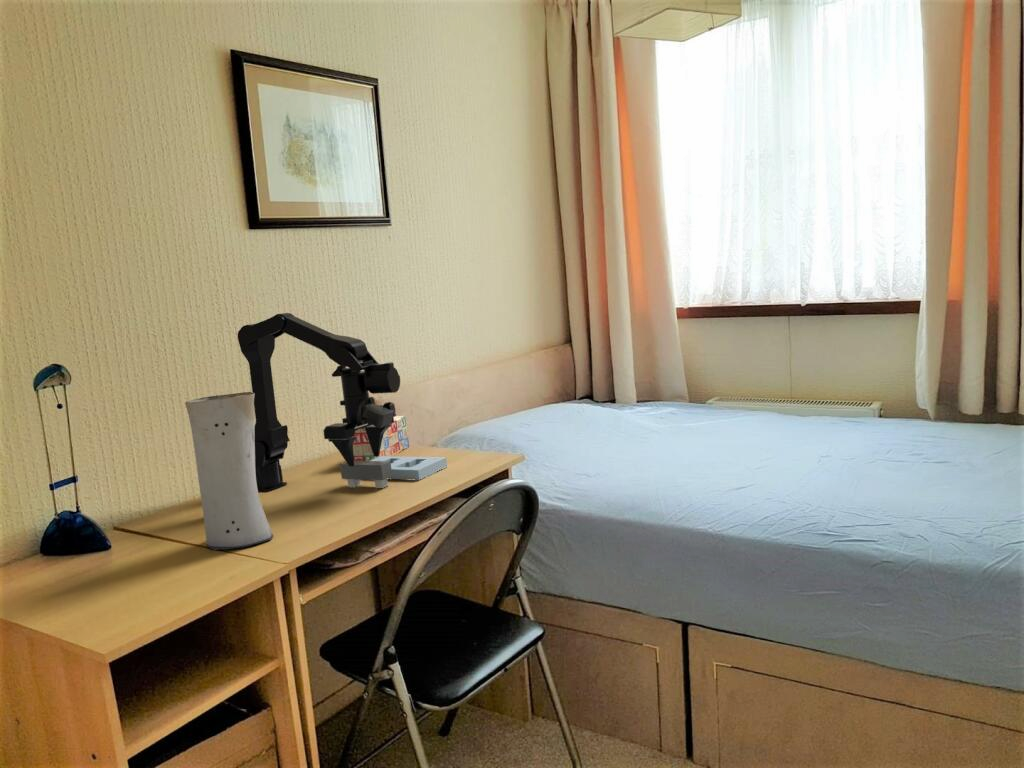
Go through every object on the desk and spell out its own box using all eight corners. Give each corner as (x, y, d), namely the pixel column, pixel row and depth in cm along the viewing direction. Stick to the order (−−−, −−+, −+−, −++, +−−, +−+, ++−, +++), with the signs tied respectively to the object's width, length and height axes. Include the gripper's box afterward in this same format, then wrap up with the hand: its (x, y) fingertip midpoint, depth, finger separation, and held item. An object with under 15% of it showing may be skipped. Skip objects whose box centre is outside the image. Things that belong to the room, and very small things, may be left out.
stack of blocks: (390, 448, 224) (384, 406, 222) (409, 447, 222) (404, 405, 220) (354, 467, 204) (348, 420, 202) (375, 466, 202) (369, 419, 200)
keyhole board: (447, 467, 192) (446, 457, 191) (419, 480, 181) (418, 470, 181) (382, 465, 201) (381, 456, 201) (352, 477, 191) (351, 467, 190)
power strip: (393, 485, 179) (390, 460, 178) (384, 489, 176) (381, 464, 175) (352, 483, 185) (349, 459, 184) (343, 487, 182) (339, 463, 181)
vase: (291, 534, 150) (274, 390, 148) (231, 556, 139) (211, 401, 136) (248, 528, 158) (231, 391, 155) (188, 549, 146) (168, 402, 144)
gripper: (357, 401, 166) (366, 472, 168) (408, 387, 182) (416, 452, 184) (317, 402, 171) (326, 471, 173) (370, 388, 187) (378, 451, 189)
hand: (364, 461), depth 180 cm, fingers open, 9 cm apart
